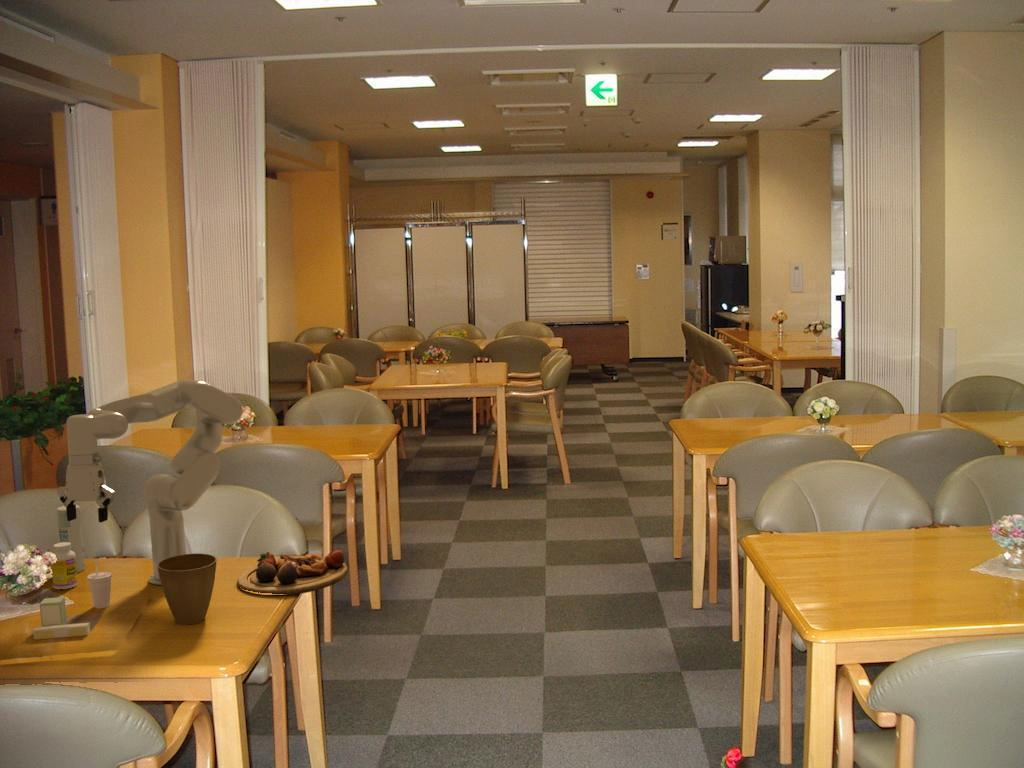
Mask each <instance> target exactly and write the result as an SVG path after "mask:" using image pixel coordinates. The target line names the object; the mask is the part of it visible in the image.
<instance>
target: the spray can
mask: <svg viewBox="0 0 1024 768" xmlns="http://www.w3.org/2000/svg"><path fill="white" fill-rule="evenodd" d="M75 505H76V517H77V518H76V519H74V520H71V521H67V513H66V507H65V506H64V505H62V506H59V507H57V508H56V515H57V524H58V526H57V527H58V533H59V534H58V535H59V543H61V542H69V543H71V549H70V550H71V551H73V552H74V553H75V556H76V568H77V573H79V571H81V570H83V571H85V568H86V564H85V554H84V553H85V551H84V542H83V541H84V540H83V539H84V538H83V530H82V529H83V527H82V517H81V516H82V515H81V507H80V505H78V504H75ZM81 572H82V571H81Z"/></svg>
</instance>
